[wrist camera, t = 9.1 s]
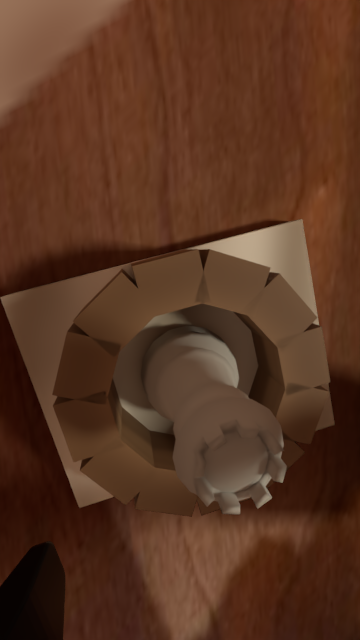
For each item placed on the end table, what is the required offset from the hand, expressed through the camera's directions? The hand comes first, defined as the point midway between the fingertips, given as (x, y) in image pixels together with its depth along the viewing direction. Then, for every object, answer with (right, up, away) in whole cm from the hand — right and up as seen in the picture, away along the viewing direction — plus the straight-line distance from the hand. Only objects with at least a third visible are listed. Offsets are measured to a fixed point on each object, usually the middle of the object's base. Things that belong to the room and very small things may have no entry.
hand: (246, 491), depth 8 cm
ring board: (-1, +2, +10) cm, 10 cm away
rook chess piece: (-1, +2, +9) cm, 9 cm away
